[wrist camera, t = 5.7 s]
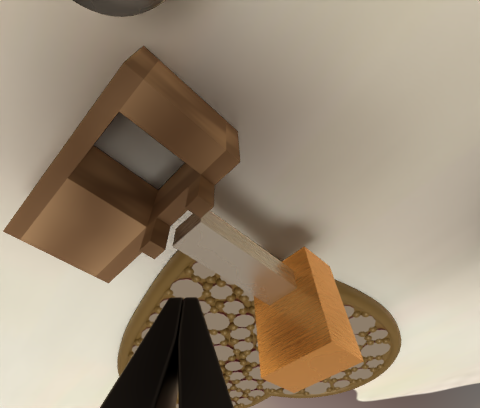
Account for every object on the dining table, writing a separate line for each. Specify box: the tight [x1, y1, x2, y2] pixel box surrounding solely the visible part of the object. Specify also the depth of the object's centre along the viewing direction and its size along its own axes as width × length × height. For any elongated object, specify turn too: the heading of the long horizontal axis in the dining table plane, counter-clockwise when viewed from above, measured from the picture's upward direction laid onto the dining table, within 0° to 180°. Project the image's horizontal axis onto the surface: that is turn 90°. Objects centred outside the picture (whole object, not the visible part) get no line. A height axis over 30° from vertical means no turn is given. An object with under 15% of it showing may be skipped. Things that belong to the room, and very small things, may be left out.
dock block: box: [3, 46, 240, 283], centre depth 18 cm, size 7×13×6 cm, turn 135°
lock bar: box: [173, 211, 364, 393], centre depth 19 cm, size 11×5×7 cm, turn 45°
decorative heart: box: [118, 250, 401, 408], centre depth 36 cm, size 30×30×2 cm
